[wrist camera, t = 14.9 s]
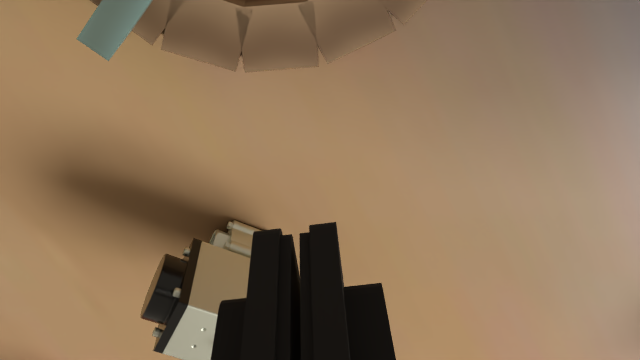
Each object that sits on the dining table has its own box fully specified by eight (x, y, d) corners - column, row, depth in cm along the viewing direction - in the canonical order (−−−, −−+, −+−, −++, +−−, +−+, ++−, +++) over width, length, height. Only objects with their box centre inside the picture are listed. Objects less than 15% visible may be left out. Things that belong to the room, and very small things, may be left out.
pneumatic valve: (184, 191, 42) (150, 308, 32) (323, 244, 46) (332, 365, 35) (160, 244, 45) (121, 367, 35) (293, 290, 48) (293, 415, 38)
